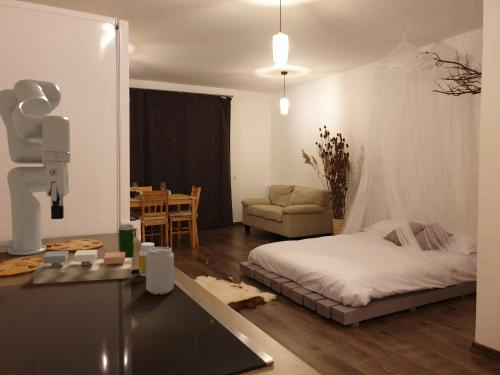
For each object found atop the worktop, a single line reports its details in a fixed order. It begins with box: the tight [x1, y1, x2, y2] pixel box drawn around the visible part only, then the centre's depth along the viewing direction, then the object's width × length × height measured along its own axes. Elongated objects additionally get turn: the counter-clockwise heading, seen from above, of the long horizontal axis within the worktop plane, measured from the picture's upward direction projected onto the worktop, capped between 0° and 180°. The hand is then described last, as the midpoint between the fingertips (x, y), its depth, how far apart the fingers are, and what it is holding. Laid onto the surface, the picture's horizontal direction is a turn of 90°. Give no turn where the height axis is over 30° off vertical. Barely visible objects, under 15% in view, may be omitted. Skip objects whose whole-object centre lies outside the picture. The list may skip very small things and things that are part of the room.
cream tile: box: [73, 249, 98, 265], centre depth 123 cm, size 6×6×4 cm
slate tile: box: [42, 250, 69, 267], centre depth 121 cm, size 6×6×4 cm
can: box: [145, 246, 175, 295], centre depth 111 cm, size 8×8×12 cm
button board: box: [32, 258, 133, 285], centre depth 123 cm, size 27×12×3 cm, turn 106°
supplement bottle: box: [138, 242, 155, 277], centre depth 125 cm, size 5×5×10 cm
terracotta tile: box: [103, 251, 125, 265], centre depth 125 cm, size 6×6×4 cm
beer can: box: [117, 223, 135, 260], centre depth 141 cm, size 5×5×12 cm
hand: (57, 218), depth 120 cm, fingers closed
